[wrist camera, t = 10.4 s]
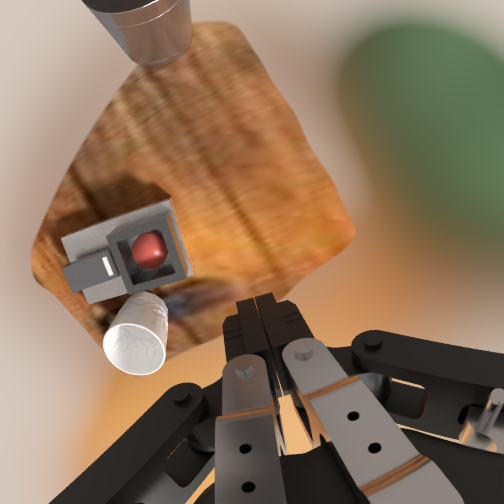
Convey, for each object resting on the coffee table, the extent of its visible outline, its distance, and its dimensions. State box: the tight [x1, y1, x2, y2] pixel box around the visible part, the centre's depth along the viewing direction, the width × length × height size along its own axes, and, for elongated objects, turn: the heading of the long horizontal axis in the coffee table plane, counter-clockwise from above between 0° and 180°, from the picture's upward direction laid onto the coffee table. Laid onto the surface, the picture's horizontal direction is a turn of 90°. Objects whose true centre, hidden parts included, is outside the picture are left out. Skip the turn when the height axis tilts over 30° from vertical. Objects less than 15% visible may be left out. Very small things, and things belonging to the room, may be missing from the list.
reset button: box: [132, 231, 168, 269], centre depth 36 cm, size 4×4×1 cm
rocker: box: [62, 248, 120, 293], centre depth 34 cm, size 4×7×2 cm, turn 104°
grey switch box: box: [61, 197, 194, 304], centre depth 36 cm, size 10×16×7 cm, turn 104°
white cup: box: [103, 292, 168, 375], centre depth 38 cm, size 8×8×10 cm
